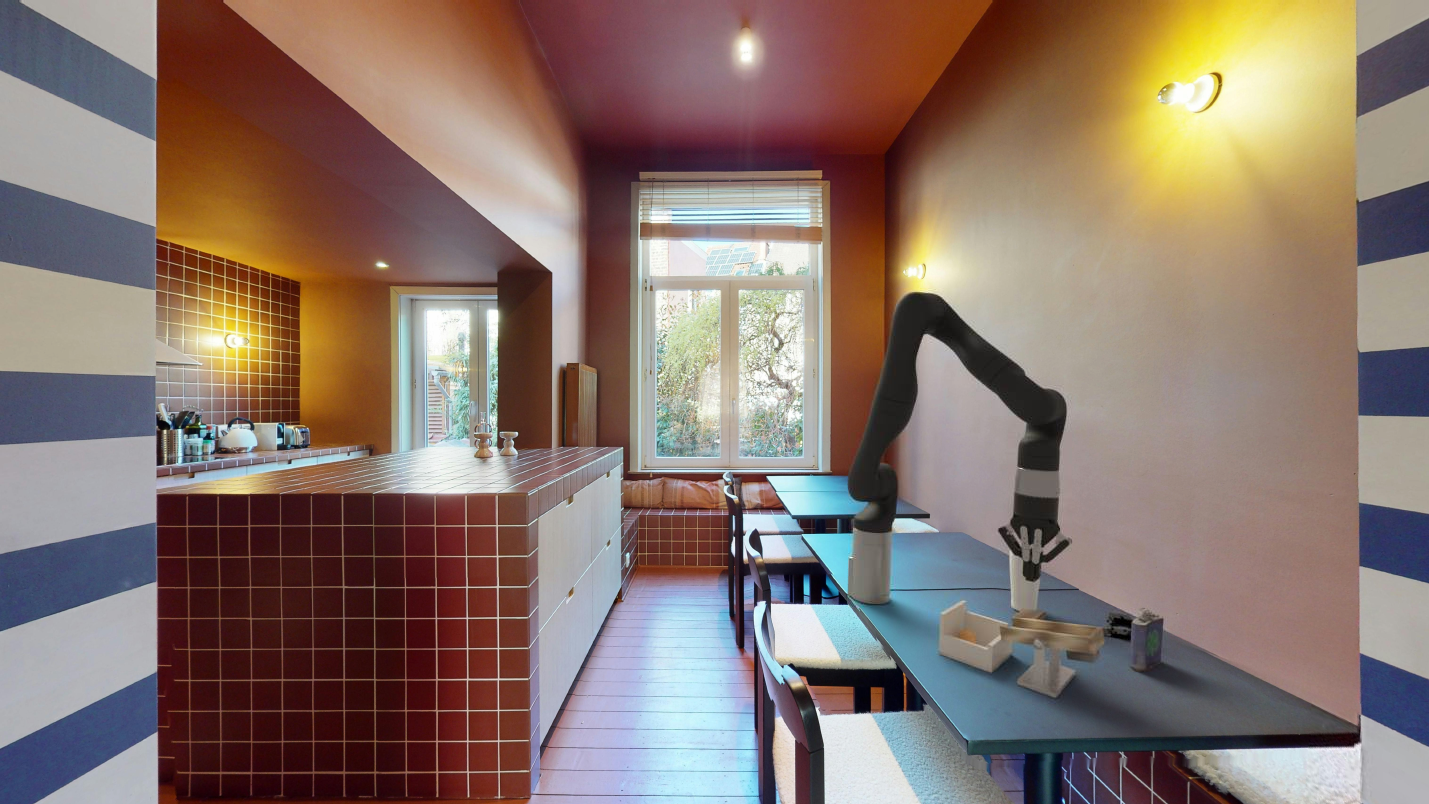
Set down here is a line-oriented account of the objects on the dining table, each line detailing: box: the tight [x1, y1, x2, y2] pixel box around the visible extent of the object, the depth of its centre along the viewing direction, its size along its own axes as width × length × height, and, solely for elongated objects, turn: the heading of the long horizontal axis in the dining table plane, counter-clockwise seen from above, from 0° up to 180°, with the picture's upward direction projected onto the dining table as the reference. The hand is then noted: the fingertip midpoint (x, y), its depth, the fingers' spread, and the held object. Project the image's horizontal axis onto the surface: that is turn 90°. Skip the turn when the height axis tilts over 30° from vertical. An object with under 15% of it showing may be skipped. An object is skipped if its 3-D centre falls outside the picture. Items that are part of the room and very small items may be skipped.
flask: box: [1129, 607, 1164, 673], centre depth 108 cm, size 9×3×11 cm, turn 121°
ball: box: [958, 630, 977, 644], centre depth 111 cm, size 4×4×4 cm
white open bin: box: [938, 600, 1013, 674], centre depth 110 cm, size 10×11×8 cm
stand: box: [1016, 638, 1076, 699], centre depth 101 cm, size 6×12×9 cm, turn 134°
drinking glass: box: [1009, 542, 1043, 612], centre depth 134 cm, size 7×7×15 cm
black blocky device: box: [1102, 612, 1134, 642], centre depth 122 cm, size 12×7×5 cm, turn 69°
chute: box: [1000, 609, 1105, 664], centre depth 103 cm, size 15×13×4 cm
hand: (1031, 580), depth 109 cm, fingers closed
